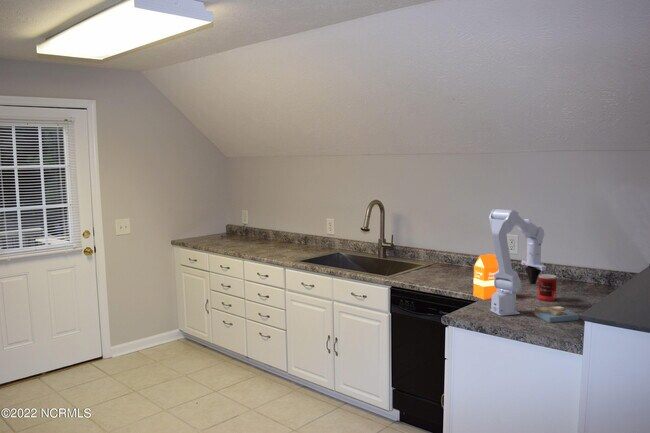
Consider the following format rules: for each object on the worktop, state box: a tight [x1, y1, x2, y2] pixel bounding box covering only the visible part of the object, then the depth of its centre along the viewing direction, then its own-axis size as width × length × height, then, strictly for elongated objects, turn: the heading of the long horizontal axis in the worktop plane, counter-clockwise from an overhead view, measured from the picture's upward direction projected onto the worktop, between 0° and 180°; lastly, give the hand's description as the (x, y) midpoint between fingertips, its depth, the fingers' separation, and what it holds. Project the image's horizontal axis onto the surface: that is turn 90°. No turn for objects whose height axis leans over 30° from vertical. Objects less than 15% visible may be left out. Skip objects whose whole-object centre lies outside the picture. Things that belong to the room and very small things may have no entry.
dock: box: [537, 309, 580, 323], centre depth 215 cm, size 13×7×2 cm, turn 104°
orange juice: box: [473, 253, 499, 300], centre depth 250 cm, size 8×9×20 cm
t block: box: [534, 305, 566, 318], centre depth 218 cm, size 12×8×3 cm, turn 104°
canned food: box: [537, 273, 557, 302], centre depth 245 cm, size 8×8×11 cm
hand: (532, 283), depth 236 cm, fingers closed
